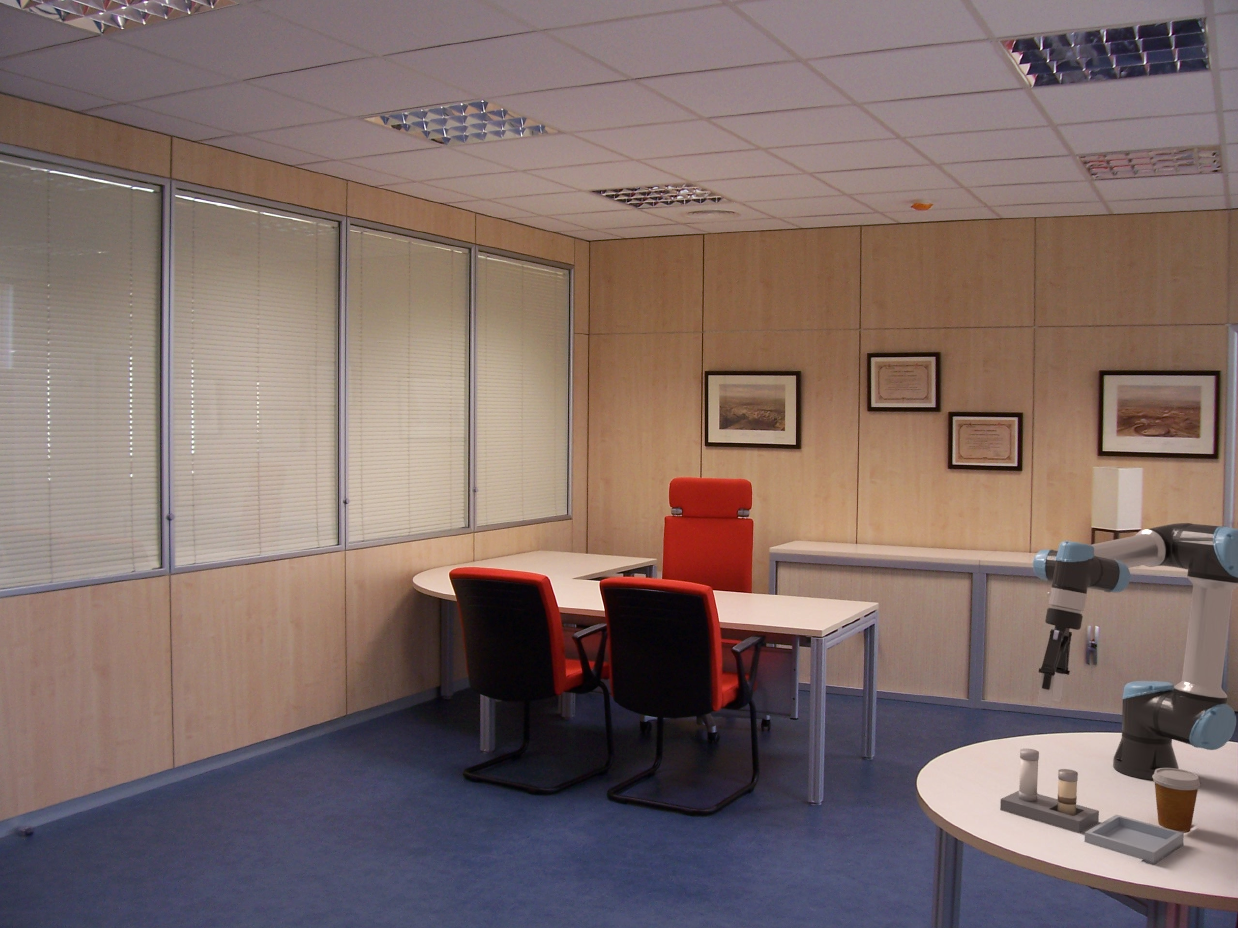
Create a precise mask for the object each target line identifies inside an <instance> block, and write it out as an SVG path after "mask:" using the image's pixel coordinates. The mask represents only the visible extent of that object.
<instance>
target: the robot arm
mask: <svg viewBox="0 0 1238 928" xmlns="http://www.w3.org/2000/svg"><path fill="white" fill-rule="evenodd" d="M1141 566H1145V567H1148V568H1155V567H1171V568H1179V569H1183V570H1187V579H1188V580H1189V582H1191V584H1192V593H1191V600H1190V602H1191V603H1190V607H1189V608H1190V610H1189V617H1188V625H1187V636H1186V641H1185V642H1186V644H1185V651H1184V660H1183V669H1182V675H1181V681H1180V682H1178V683H1176V685H1174V684H1173V683H1171V682H1168V681H1159V680H1137V681H1130V682H1128V683H1126V684H1125V685H1124V688H1123V694H1122V695H1123V696H1122V698H1121V699H1122V710H1121V711H1122V712H1121V715H1122V717H1121V738H1120V741H1119V743H1118V746H1117V749H1116V751H1115V754H1114V755H1113V760H1112V763H1113V765H1112V766H1113V768H1114V770H1115V771H1117V772H1119V773H1120V774H1124V775H1127V776H1129V777H1134V778H1138V779H1143V780H1144V779H1145V780H1151V781H1154V780H1153V778H1152V775H1153V774H1154V772H1155V770H1156V769H1159V768H1175V769H1180V768H1179V764H1178V761H1177V756H1176V755H1175V750H1174V747H1173V741H1177V742H1181V743H1184V744H1187V745H1190V746H1192V747H1194V748H1197V749H1198V748H1199V749H1204V750H1207V751H1215V750H1218V749H1220V748H1223V747H1224V746H1225V745H1226V744H1227V742H1229V741H1230V740H1231V739H1232V737H1233V735H1234V732H1235V730H1236V725H1237V716H1236V714H1235V712H1236V711H1235V710H1234V709H1233V707H1231V706H1230V705H1229V704H1228V694H1226V692H1225V691H1224V690H1223V687H1222V685H1223V684H1222V683H1223V674H1224V668H1225V659H1226V650H1227V642H1228V633H1229V624H1230V616H1231V609H1232V601H1233V600H1232V598H1233V591H1234V590H1235V589H1237V588H1238V528H1233V527H1228V526H1226V525H1225V526H1220V525H1209V524H1198V523H1192V522H1190V523H1189V522H1180V523H1177V522H1176V523H1171V524H1166V525H1160V526H1155V527H1151V528H1146V529H1141V530H1138V532H1136V533H1135V535H1132V536H1127V537H1122V538H1117V539H1113V540H1107V541H1103V542H1098V543H1093V544H1087V543H1083V542H1077V541H1071V540H1063V541H1061V542H1059V546H1058V549H1057V550H1054V549H1051V548H1050V549H1041V550H1039V551H1038V552H1037V553H1036V554H1035V556H1034V558H1033V560H1032V570H1033V573H1034V574H1035V576H1036V577H1037V578H1039V579H1040V580H1043V581H1047V582H1049V583H1051V582H1052V584H1051V587H1050V591H1047V596H1049V599H1048V605H1049V606H1050V607H1048V608H1047V609H1046V615H1045V618H1044V619H1045V620H1044V621H1045V623H1046V624H1047V625H1052V626H1054V629H1051V630H1049V638H1048V642H1047V647H1046V648H1045V649H1046V650H1045V654H1044V657H1043V661H1042V665H1041V667H1038V673H1039V674H1041V677H1040V683H1039V688H1038V689H1039V690H1038V694H1037V699H1036V703H1037V704H1041V705H1046V706H1049V707H1050V706H1051V703H1052V702H1056V703H1061V702H1062V699H1063V698H1062V697H1063V691H1064V686H1065V680H1066V676H1067V675H1068V676H1069V675H1070V673H1071V670H1069V661H1070V652H1071V651H1070V650H1071V641H1072V635H1073V632H1071V631H1070V629H1071V630H1076V631H1079V630H1080V629H1081V628H1082V623H1083V618H1084V617H1083V614H1082V612H1084V611H1085V608H1086V607H1085V606H1086V602H1087V601H1086V600H1087V594H1088V589H1091V590H1096V591H1102V592H1106V593H1120V592H1123V591H1124V590H1125V589H1126V588H1127V587H1128V586H1129V583H1130V580H1131V571H1130V568H1134V567H1135V568H1136V567H1141Z"/></svg>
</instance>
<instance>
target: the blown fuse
mask: <svg viewBox="0 0 1238 928" xmlns="http://www.w3.org/2000/svg"><path fill="white" fill-rule="evenodd" d="M1057 773H1058V774H1057V778H1058V779H1057V780H1058V785H1057V799H1058V808H1057V812H1061V813H1064V814H1068V815H1071V816H1075V815H1076V804H1077V792H1078V778H1079V773H1078V771H1076V770H1073V769H1069V768H1068V769H1067V768H1060V769H1058V772H1057Z"/></svg>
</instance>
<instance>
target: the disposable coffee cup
mask: <svg viewBox="0 0 1238 928" xmlns="http://www.w3.org/2000/svg"><path fill="white" fill-rule="evenodd" d="M1199 777H1200V776H1198V775H1197V774H1195V773H1194V772H1192V771H1188V770H1185V769H1182V768H1179V769H1175V768H1159V769H1156V770H1155V772H1154V774H1153V775H1152V778H1153V780H1152V781H1153V782H1154V790H1155V792H1154V793H1155V800H1156V812H1157V822H1158V826H1160V827H1164V828H1167V829H1171V830H1174V831H1178V832H1183V833H1189V832H1191V828H1192V823H1193V819H1194V818H1193V817H1194V811H1195V806H1196V802H1197V797H1198V791H1199V789H1200V786H1201V781H1200V778H1199Z"/></svg>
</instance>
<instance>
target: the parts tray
mask: <svg viewBox="0 0 1238 928" xmlns="http://www.w3.org/2000/svg"><path fill="white" fill-rule="evenodd" d="M1084 843H1086V844H1090V845H1094V846H1098V847H1099V848H1104V849H1107V850H1110V851H1114V852H1116V853H1117V852H1118V853H1120V854H1124V855H1127V856H1131V857H1134V858H1136V859H1137V858H1138V859H1141V862H1143V863H1147V864H1150V865H1153V866H1154V865H1155V864H1157V863H1158V862H1159V861H1161V860H1163V859H1164V858H1166V857H1167V856H1169V855H1170V854H1172V853H1173V852H1175V851H1176V850H1177V849H1179V848H1181V847H1182V846H1184V832H1183V831H1176V830H1171V829H1167V828H1164V827H1162V826H1160V825H1155V824H1153V823H1148V822H1145V821H1141V820H1138V819H1135V818H1134V819H1133V818H1130V817H1127V816H1123V815H1120V814H1114V815H1113V816H1111V817H1110V818H1108V819H1106V820H1105V821H1102V822H1101V823H1100V822H1099V824H1097V825H1094V826H1093V827H1092V828H1090V829H1088V830H1086V831H1084Z"/></svg>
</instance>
